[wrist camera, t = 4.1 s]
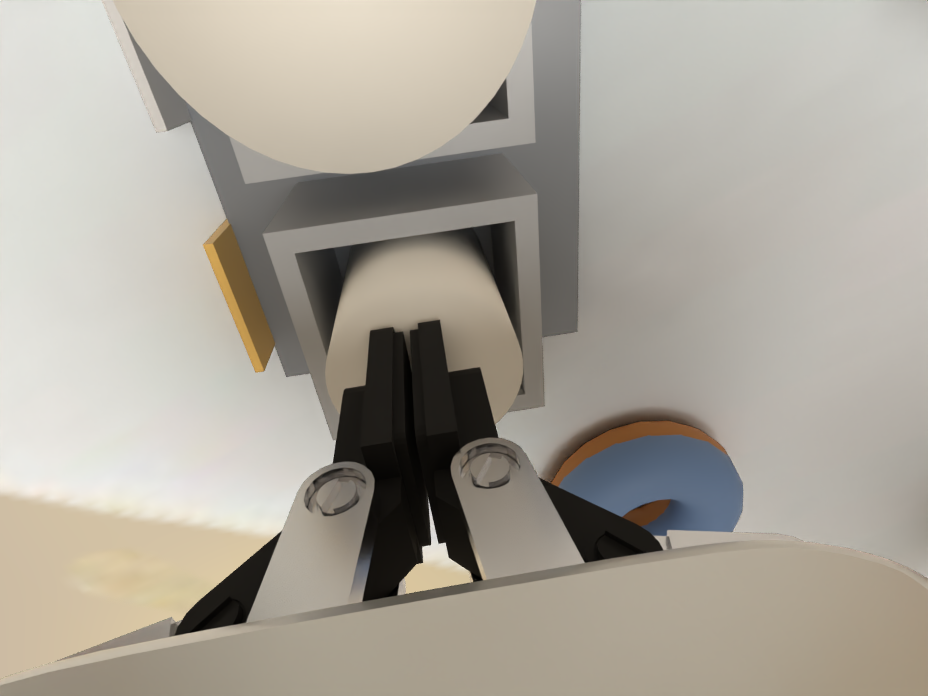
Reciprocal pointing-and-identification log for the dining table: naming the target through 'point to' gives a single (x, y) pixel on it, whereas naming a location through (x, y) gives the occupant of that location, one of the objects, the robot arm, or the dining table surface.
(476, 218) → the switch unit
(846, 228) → the dining table surface
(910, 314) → the dining table surface
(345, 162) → the button mid
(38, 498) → the dining table surface
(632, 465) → the doughnut
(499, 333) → the button
